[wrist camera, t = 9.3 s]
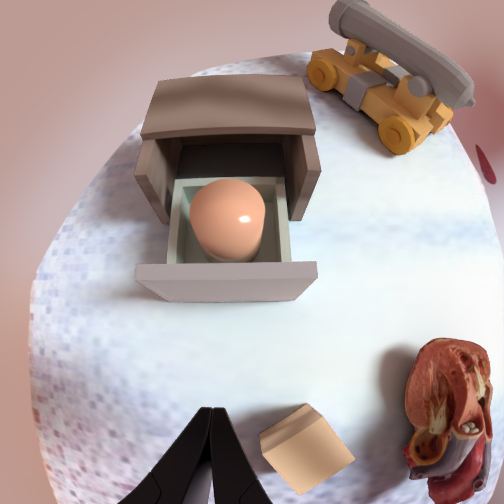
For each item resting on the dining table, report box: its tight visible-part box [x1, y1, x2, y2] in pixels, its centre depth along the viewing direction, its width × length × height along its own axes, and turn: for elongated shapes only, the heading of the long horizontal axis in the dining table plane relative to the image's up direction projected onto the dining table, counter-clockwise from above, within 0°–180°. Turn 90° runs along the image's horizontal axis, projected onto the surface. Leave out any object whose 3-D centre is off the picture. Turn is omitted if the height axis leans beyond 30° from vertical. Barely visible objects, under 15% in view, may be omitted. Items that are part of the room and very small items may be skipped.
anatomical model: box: [402, 338, 493, 504], centre depth 15 cm, size 11×13×15 cm
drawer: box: [135, 177, 318, 302], centre depth 21 cm, size 10×11×8 cm
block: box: [259, 403, 355, 495], centre depth 17 cm, size 5×5×5 cm
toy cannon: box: [307, 0, 476, 155], centre depth 27 cm, size 16×22×15 cm
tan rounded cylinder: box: [189, 179, 265, 263], centre depth 21 cm, size 5×5×6 cm
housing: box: [134, 74, 321, 223], centre depth 24 cm, size 11×14×9 cm
